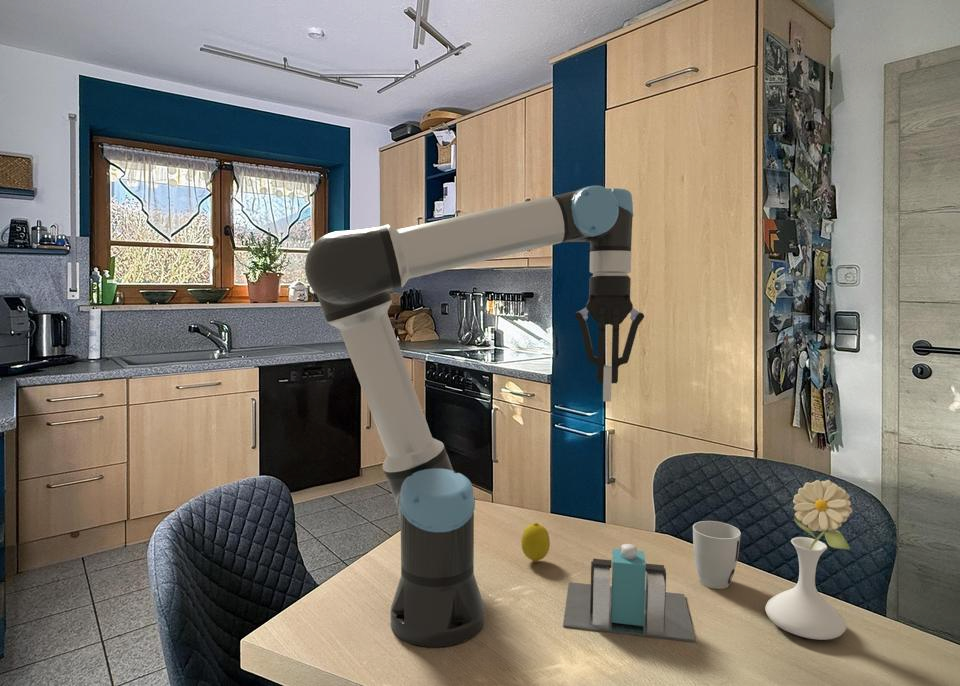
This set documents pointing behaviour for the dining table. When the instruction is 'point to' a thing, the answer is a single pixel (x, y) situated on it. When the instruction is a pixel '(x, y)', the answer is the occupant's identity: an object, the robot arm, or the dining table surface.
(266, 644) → the dining table surface
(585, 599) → the steel clamp
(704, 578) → the cup
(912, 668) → the dining table surface
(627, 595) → the teal post
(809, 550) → the flower in vase
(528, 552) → the lemon
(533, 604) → the dining table surface
